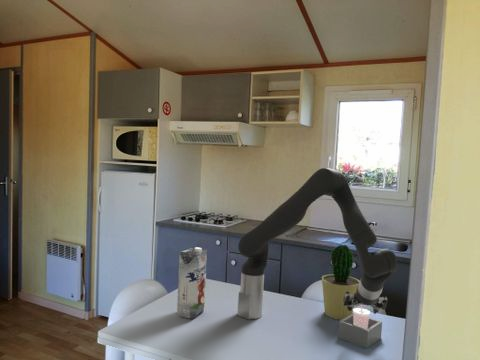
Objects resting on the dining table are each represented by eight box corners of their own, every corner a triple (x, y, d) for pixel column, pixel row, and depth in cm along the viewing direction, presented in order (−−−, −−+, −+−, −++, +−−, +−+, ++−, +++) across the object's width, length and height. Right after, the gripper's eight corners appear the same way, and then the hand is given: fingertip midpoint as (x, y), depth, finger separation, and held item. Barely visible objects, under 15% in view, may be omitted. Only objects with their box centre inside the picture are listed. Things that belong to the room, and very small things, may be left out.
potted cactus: (353, 309, 172) (358, 241, 171) (361, 323, 157) (366, 249, 155) (317, 306, 174) (322, 238, 172) (321, 320, 158) (326, 246, 157)
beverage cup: (366, 340, 139) (369, 301, 139) (348, 335, 143) (351, 297, 142) (370, 334, 145) (373, 297, 144) (353, 330, 148) (356, 293, 147)
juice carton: (173, 316, 154) (177, 248, 153) (187, 307, 164) (190, 243, 162) (194, 321, 151) (197, 251, 149) (206, 311, 160) (209, 246, 159)
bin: (366, 348, 136) (368, 331, 135) (337, 337, 143) (339, 321, 143) (381, 337, 145) (382, 321, 144) (353, 328, 152) (354, 312, 152)
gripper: (390, 280, 132) (381, 302, 144) (347, 276, 135) (341, 298, 147) (393, 301, 127) (383, 322, 139) (347, 297, 130) (342, 317, 142)
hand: (361, 309), depth 143 cm, fingers open, 8 cm apart
